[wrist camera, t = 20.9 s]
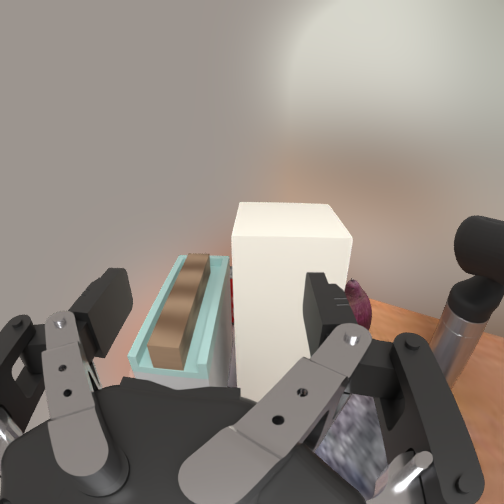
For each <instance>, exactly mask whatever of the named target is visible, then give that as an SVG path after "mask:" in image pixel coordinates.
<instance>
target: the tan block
mask: <svg viewBox="0 0 504 504" xmlns="http://www.w3.org/2000/svg"><path fill="white" fill-rule="evenodd" d="M210 273H211V271H210V256H209V254H188V256H187V258H186V260H185V262H184V264H183V266H182V268H181V270H180V272H179V274H178V277H177V279H176V281H175V283H174V285H173V287H172V289H171V292H170V294H169V296H168V298H167V300H166V302H165V305H164V307H163V309H162V311H161V314H160V316H159V318H158V320H157V323H156V325H155V327H154V329H153V332H152V334H151V336H150V339H149V341H148V343H147V348H148V351H149V355H150V358H151V361H152V364H153V368H161V369H170V370H181V371H184V367H185V363H186V359H187V356H188V352H189V348H190V344H191V341H192V337H193V333H194V330H195V326H196V322H197V319H198V315H199V312H200V308H201V304H202V301H203V297H204V294H205V290H206V287H207V283H208V280H209V277H210Z"/></svg>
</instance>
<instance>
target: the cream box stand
mask: <svg viewBox="0 0 504 504" xmlns="http://www.w3.org/2000/svg"><path fill="white" fill-rule="evenodd" d="M352 242H353V238H352V236H351V235H350V233H349V232H348V230H347V229H346V228H345V226H344V225H343V224H342V222H341V221H340V219H339V218H338V217H337V216H336V214H335V213H334V211H333V210H332V209H331V207H330V206H329V205H328V204H308V203H270V202H267V203H266V202H240V204H239V208H238V212H237V216H236V220H235V224H234V228H233V232H232V272H233V302H234V328H235V352H236V373H237V388H241V397H244V398H248V399H251V400H253V401H256V402H259V401H260V400H261V399H262V398H263V397H264V396H265V395H266V394H267V393H268V392H269V391H270V390H271V389H272V388H273V387H274V386H275V385H276V384H277V383H278V382H279V381H280V380H281V378H282V377H283V376H284V375H285V374H286V373H287V372H288V371H289V370H290V369H291V368H292V367H293V366H294V365H295V364H296V362H297V361H298V360H299V359H301V358H302V357H306V358H308V359H310V358H311V356H310V351H309V345H308V340H307V335H306V330H305V324H304V319H303V297H304V288H305V278H306V273H307V272H324V273H325V276H326V278H327V281H328V283H329V284H337V285H338V286H339V287H340V288H342V289H343V290H345V285H346V279H347V273H348V267H349V261H350V255H351V248H352Z"/></svg>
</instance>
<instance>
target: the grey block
mask: <svg viewBox="0 0 504 504" xmlns="http://www.w3.org/2000/svg"><path fill="white" fill-rule="evenodd" d="M232 344H233V337H232V315H231V291H230V270H229V275H228V280H227V285H226V290H225V295H224V300H223V305H222V310H221V315H220V321H219V326H218V331H217V336H216V342H215V347H214V352H213V358H212V363H211V369H210V374H209V379H196V378H185V377H175V376H166V375H158V374H150V373H143V372H136V371H133V373H134V375H135V378H136V379H143V380H150V381H152V382H155V383H158V384H161V385H164V386H167V387H169V388H172V389H176V390H183V389H192V388H201V387H209V386H212V387H227V386H228V377H229V369H230V360H231V352H232Z"/></svg>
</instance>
